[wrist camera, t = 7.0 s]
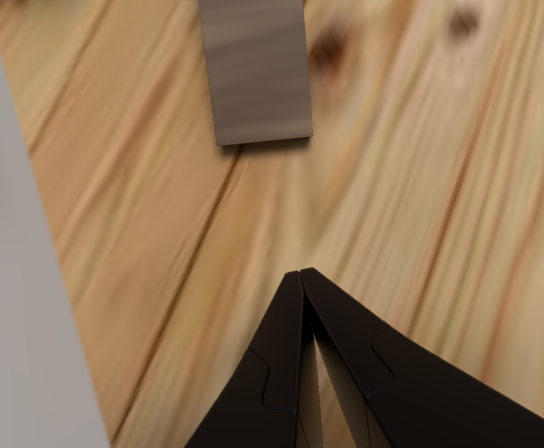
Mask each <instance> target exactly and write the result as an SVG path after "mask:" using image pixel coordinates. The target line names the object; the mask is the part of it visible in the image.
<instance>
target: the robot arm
mask: <svg viewBox="0 0 544 448" xmlns="http://www.w3.org/2000/svg"><path fill="white" fill-rule="evenodd" d="M300 275H301V276H300ZM307 306H308V307H307ZM309 315H310V316H309ZM311 324H312V325H311ZM312 328H313V329H312ZM313 333H314V334H313ZM314 336H315V340H316V343H317V346H318V348H319V351H320V354H321V356H322V359H323V361H324V364H325V367H326V369H327V372H328V374H329V377H330V380H331V382H332V385H333V388H334V390H335V393H336V395H337V398H338V401H339V403H340V406H341V408H342V411H343V414H344V416H345V419H346V421H347V424H348V427H349V429H350V432H351V434H352V437H353V440H354V442H355V445H356V448H544V418H542V417H540V416H539V415H537V414H535V413H533V412H532V411H530V410H528V409H527V408H525V407H523V406H522V405H520V404H518V403H516V402H515V401H513V400H511V399H510V398H508V397H506V396H505V395H503V394H501V393H499V392H498V391H496V390H494V389H493V388H491V387H489V386H488V385H486V384H484V383H482V382H481V381H479V380H477V379H476V378H474V377H472V376H471V375H469V374H467V373H465V372H464V371H462V370H460V369H459V368H457V367H455V366H454V365H452V364H450V363H448V362H447V361H445V360H443V359H442V358H440V357H438V356H437V355H435V354H433V353H431V352H430V351H428V350H426V349H425V348H423V347H421V346H420V345H418V344H417V343H415V342H413V341H412V340H410V339H409V338H407V337H406V336H404V335H403V334H401V333H400V332H399V331H397V330H396V329H394V328H393V327H392V326H390V325H389V324H388V323H386V322H385V321H382V319H381V318H379V317H378V316H377V315H375V314H374V313H373V312H371V311H370V310H369V309H367V308H366V307H365V306H363V305H362V304H361V303H360V302H358V301H357V300H356V299H354V298H353V297H352V296H350V295H349V294H348V293H346V292H345V291H344V290H342V289H341V288H340V287H339V286H337V285H336V284H335V283H333V282H332V281H331V280H329V279H328V278H327V277H325V276H324V275H323V274H321V273H320V272H319V271H318V270H316V269H315V268H313V267H311V268H306V269H302V270H300V272H299V271H292V272H288V273H286V274H285V275H284V277H283V279H282V281H281V283H280V285H279V287H278V289H277V291H276V293H275V295H274V297H273V299H272V301H271V303H270V305H269V307H268V309H267V311H266V313H265V315H264V317H263V318H262V320H261V322H260V324H259V326H258V328H257V330H256V332H255V334H254V336H253V338H252V340H251V342H250V344H249V346H248V349H246V351H245V353H244V355H243V357H242V359H241V361H240V362H239V364H238V366H237V368H236V370H235V371H234V373H233V375H232V376H231V378H230V380H229V381H228V383H227V384H226V386H225V387H224V389H223V391H222V392H221V394H220V395H219V396H218V398H217V399H216V401H215V402H214V404H213V405H212V407H211V408H210V410H209V411H208V413H207V414H206V416H205V417H204V419H203V420H202V422H201V423H200V424H199V426H198V427H197V429H196V430H195V432H194V433H193V435H192V436H191V438H190V439H189V441H188V442H187V444H186V445H185V447H184V448H323V437H322V425H321V412H320V399H319V387H318V374H317V362H316V349H315V340H314Z"/></svg>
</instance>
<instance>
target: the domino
mask: <svg viewBox="0 0 544 448" xmlns="http://www.w3.org/2000/svg"><path fill="white" fill-rule="evenodd" d="M198 1H199V9H200V16H201V24H202V32H203V40H204V48H205V55H206V63H207V71H208V79H209V87H210V95H211V102H212V110H213V118H214V126H215V134H216V141H217V146H226V145H235V144H245V143H254V142H264V141H274V140H283V139H293V138H303V137H311V136H313V128H312V114H311V101H310V88H309V75H308V62H307V49H306V36H305V23H304V9H303V0H198Z"/></svg>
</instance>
